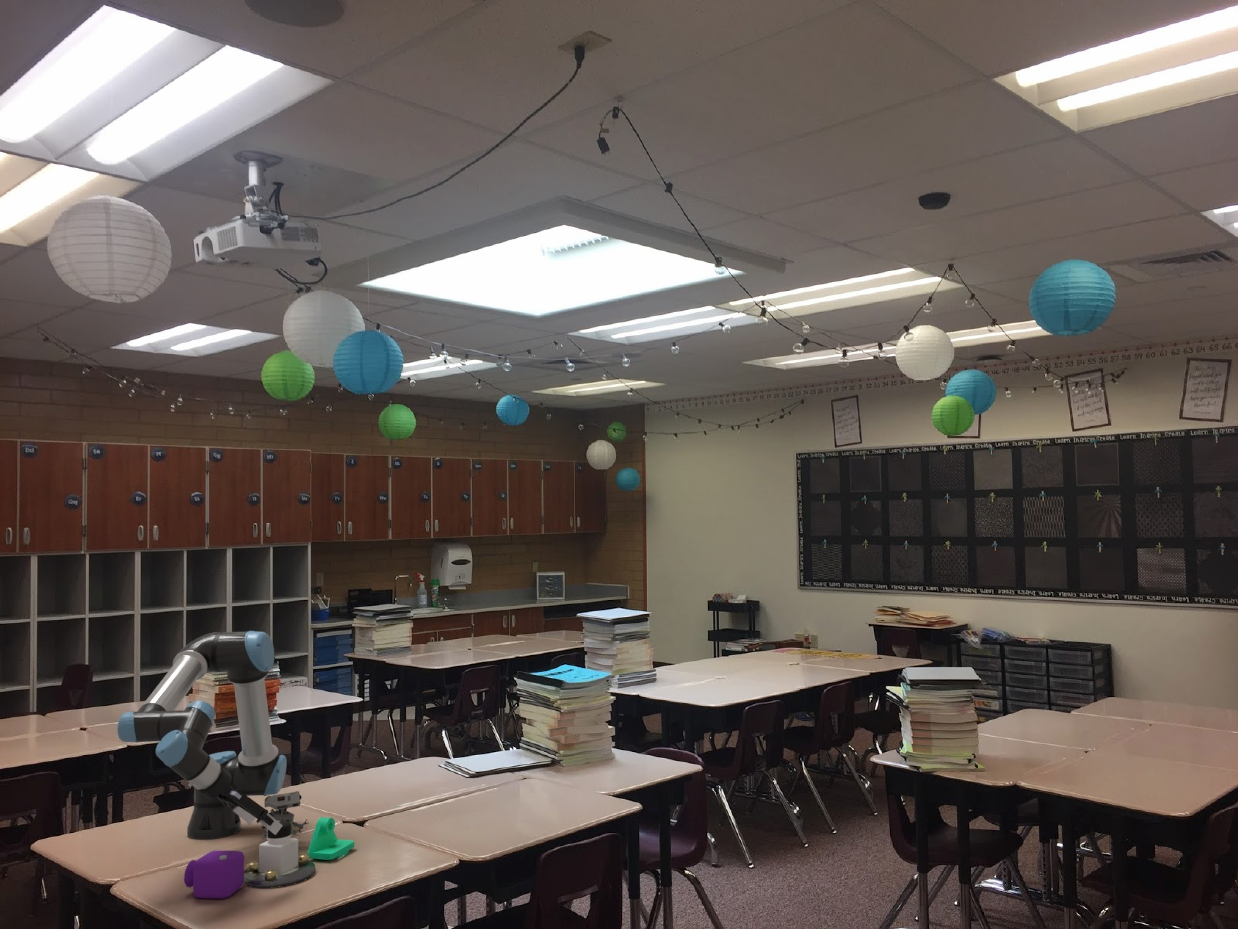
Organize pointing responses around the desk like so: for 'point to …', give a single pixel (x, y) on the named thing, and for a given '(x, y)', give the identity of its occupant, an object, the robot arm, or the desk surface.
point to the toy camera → (216, 874)
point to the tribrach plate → (274, 880)
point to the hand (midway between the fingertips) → (265, 825)
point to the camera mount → (327, 841)
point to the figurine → (283, 809)
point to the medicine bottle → (279, 850)
